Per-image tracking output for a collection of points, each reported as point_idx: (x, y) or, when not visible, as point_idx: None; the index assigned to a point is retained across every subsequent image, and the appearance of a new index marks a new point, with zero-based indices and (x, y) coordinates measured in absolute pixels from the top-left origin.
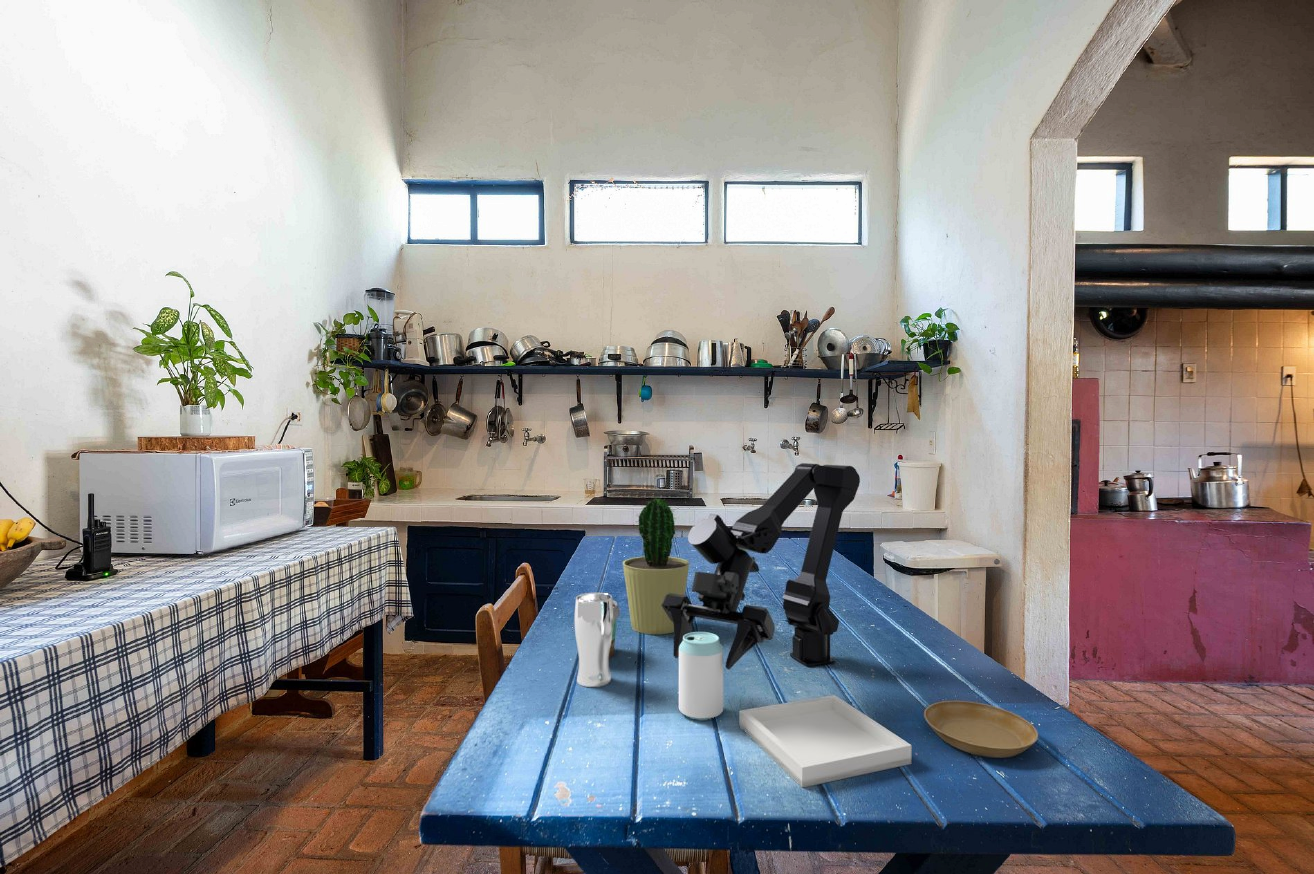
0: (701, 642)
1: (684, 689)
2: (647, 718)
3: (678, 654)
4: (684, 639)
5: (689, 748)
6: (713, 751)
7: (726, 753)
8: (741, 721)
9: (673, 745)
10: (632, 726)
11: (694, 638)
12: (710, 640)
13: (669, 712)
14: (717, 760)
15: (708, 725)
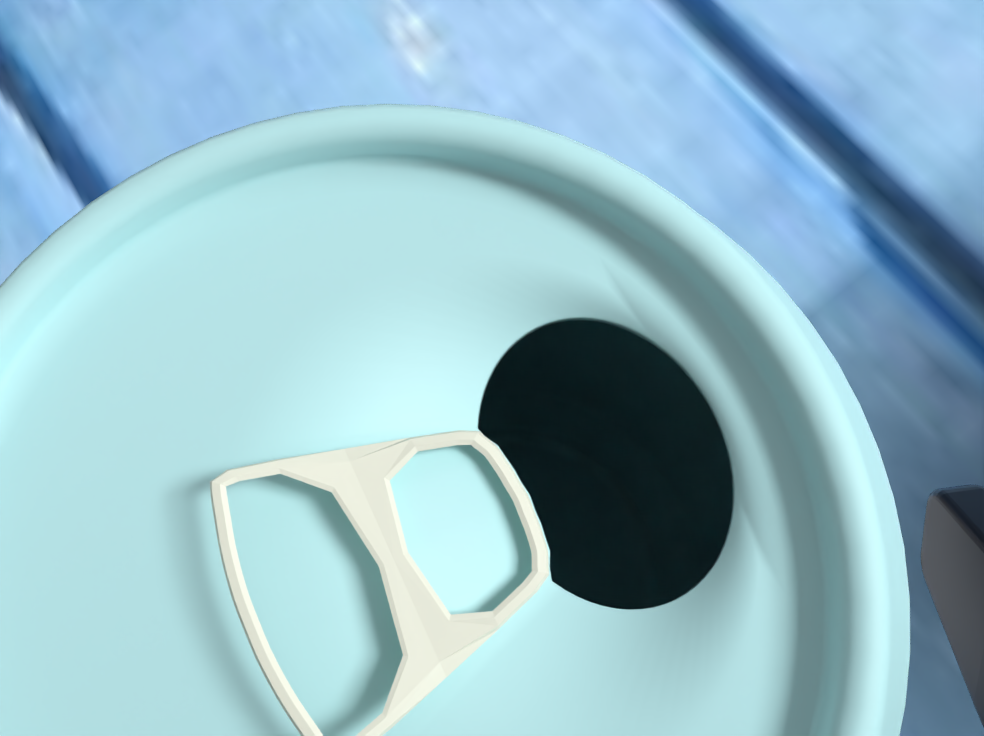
0: (218, 365)
1: (539, 329)
2: (786, 210)
3: (946, 598)
4: (614, 160)
5: (265, 69)
6: (116, 136)
7: (34, 168)
8: None
9: (373, 32)
10: (781, 47)
11: (503, 465)
12: (105, 652)
13: None
14: (46, 67)
15: None
